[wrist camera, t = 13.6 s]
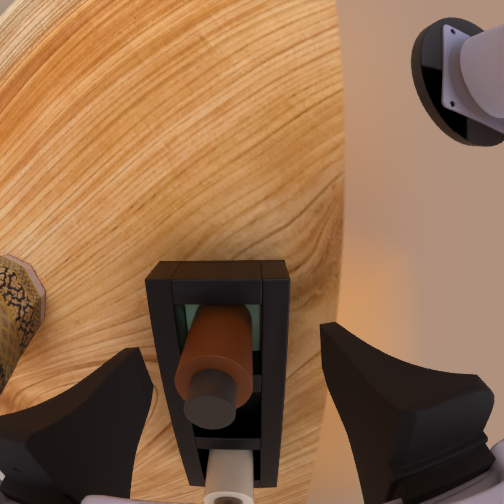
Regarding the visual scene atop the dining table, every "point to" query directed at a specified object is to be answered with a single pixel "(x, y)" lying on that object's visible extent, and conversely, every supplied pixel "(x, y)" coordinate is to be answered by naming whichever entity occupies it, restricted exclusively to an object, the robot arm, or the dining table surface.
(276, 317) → the holder
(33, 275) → the ceramic cup
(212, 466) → the cream bottle
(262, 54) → the dining table surface
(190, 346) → the spice bottle
